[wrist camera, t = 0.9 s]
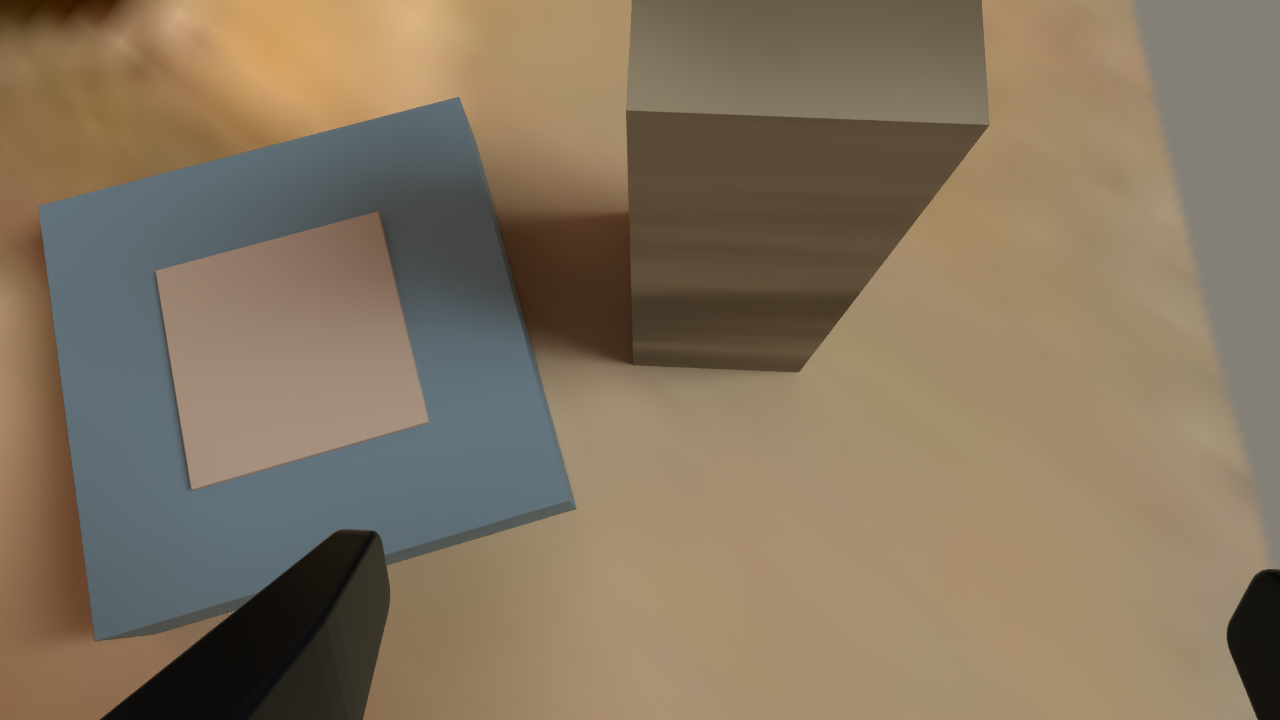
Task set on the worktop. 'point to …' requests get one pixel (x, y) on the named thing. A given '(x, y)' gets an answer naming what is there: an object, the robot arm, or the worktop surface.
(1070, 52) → the worktop surface
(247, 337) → the plate
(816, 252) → the pillar
